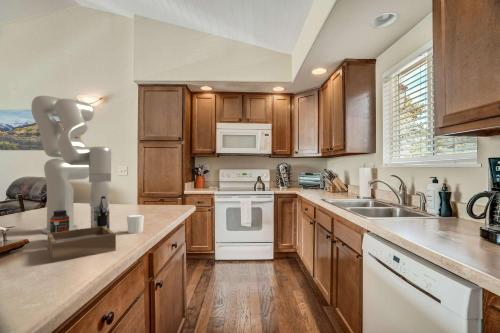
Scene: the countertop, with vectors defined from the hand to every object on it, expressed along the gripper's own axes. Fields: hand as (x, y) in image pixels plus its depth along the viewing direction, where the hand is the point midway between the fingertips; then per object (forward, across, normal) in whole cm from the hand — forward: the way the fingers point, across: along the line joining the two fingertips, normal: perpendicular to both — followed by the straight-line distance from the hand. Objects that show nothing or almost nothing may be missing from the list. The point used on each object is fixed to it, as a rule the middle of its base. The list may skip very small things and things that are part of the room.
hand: (100, 224), depth 102 cm
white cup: (+6, -2, +14) cm, 15 cm away
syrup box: (+6, 0, 0) cm, 6 cm away
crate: (+6, +12, -8) cm, 15 cm away
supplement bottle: (+6, -8, -12) cm, 16 cm away
